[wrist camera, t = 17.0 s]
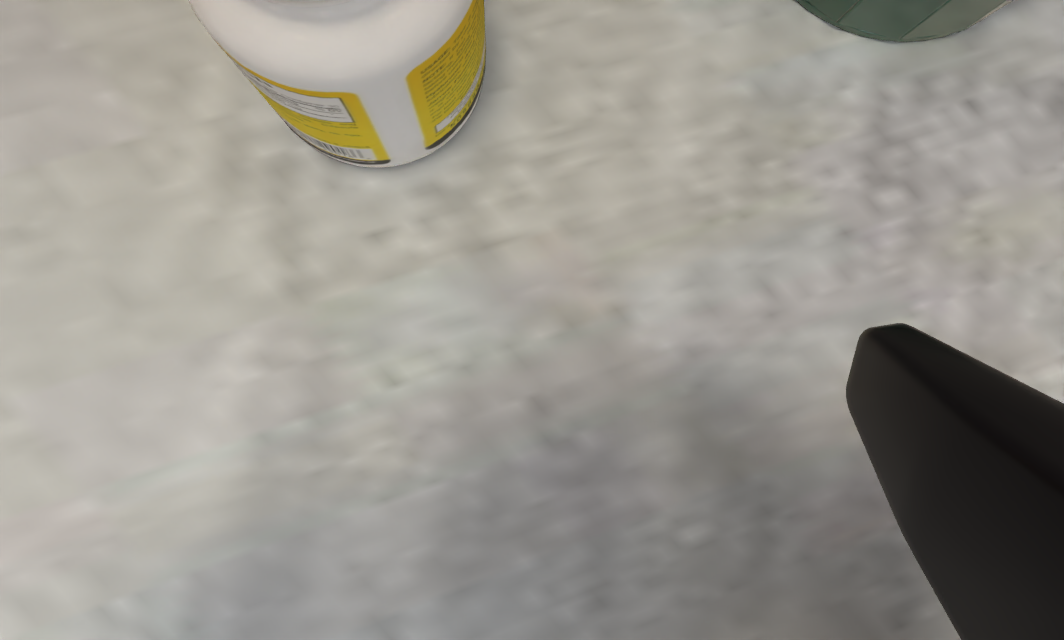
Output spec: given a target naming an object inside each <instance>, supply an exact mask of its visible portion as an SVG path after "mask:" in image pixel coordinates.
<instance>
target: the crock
mask: <svg viewBox="0 0 1064 640" xmlns="http://www.w3.org/2000/svg"><path fill="white" fill-rule="evenodd" d="M796 1H797V2H798V3H800V4H801V5H802V6H803V7H804V8H806V9H807V10H809V11H810V12H812V13H813V14H815V15H816V16H818V17H819V18H821V19H822V20H824V21H826V22H828V23H830V24H832V25H834V26H836V27H838V28H840V29H842V30H845V31H848V32H851V33H854V34H857V35H860V36H863V37H868V38H873V39H878V40H885V41H899V42H908V41H924V40H929V39H934V38H939V37H944V36H947V35H950V34H953V33H956V32H960V31H962V30H965V29H967V28H969V27H970V26H972V25H974V24H976V23H978V22H980V21H982V20H983V19H984V18H986V17H987V16H989V15H990V14H992V13H994V12H995V11H997V10H999V9H1000V8H1002V7H1004V6H1005V5H1007V4H1009V3H1011V2H1012V1H1014V0H796Z"/></svg>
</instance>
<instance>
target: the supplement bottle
mask: <svg viewBox="0 0 1064 640" xmlns="http://www.w3.org/2000/svg"><path fill="white" fill-rule="evenodd" d="M188 1H189V3H190V5H191V7H192V9H193V11H194V12H195V14H196V16H197V17H198V19H199V20H200V22H201V23H202V24H203V26H204V27H205V29H206V30H207V32H208V33H209V34H210V35H211V37H212V38H213V39H214V40H215V41H216V43H217V44H218V45H219V46H220V47H221V49H222V50H223V51H224V52H225V53H226V54H227V55H228V56H229V57H230V58H231V60H232V61H233V62H234V63H235V64H236V66H237V67H238V68H239V69H240V70H241V71H242V73H243V74H244V75H245V76H246V77H247V78H248V80H249V81H250V82H251V83H252V84H253V85H254V87H255V88H256V89H257V90H258V91H259V92H260V94H261V95H262V96H263V97H264V98H265V99H266V101H267V102H268V103H269V104H270V105H271V107H272V108H273V109H274V110H275V111H276V112H277V113H278V115H279V116H280V117H281V118H282V119H283V120H284V122H285V123H286V124H287V125H288V126H289V128H290V129H291V130H292V131H293V132H294V133H296V134H297V135H298V136H299V137H300V138H301V139H303V140H304V141H305V142H306V143H308V144H309V145H311V146H312V147H313V148H315V149H316V150H318V151H319V152H321V153H323V154H325V155H327V156H329V157H331V158H333V159H336V160H338V161H341V162H345V163H348V164H352V165H356V166H362V167H391V166H398V165H402V164H406V163H410V162H413V161H415V160H418V159H420V158H423V157H425V156H427V155H429V154H431V153H432V152H434V151H435V150H437V149H439V148H440V147H442V146H443V145H444V144H445V143H447V142H448V141H449V140H450V139H451V138H452V137H453V136H454V135H455V134H456V133H457V132H458V131H459V130H460V129H461V127H462V126H463V125H464V124H465V122H466V121H467V119H468V118H469V116H470V115H471V113H472V111H473V109H474V107H475V105H476V103H477V100H478V98H479V95H480V92H481V88H482V84H483V79H484V73H485V60H486V41H485V24H484V21H485V19H484V0H188Z"/></svg>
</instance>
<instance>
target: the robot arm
mask: <svg viewBox="0 0 1064 640" xmlns="http://www.w3.org/2000/svg"><path fill="white" fill-rule="evenodd" d="M846 399H847V404H848V408H849V411H850V413H851V416H852V418H853V420H854V423H855V425H856V427H857V430H858V432H859V434H860V437H861V439H862V442H863V444H864V446H865V449H866V451H867V453H868V456H869V458H870V460H871V463H872V465H873V467H874V470H875V472H876V474H877V477H878V479H879V481H880V484H881V486H882V488H883V491H884V493H885V495H886V498H887V500H888V502H889V505H890V507H891V510H892V512H893V514H894V516H895V519H896V521H897V523H898V525H899V527H900V529H901V532H902V534H903V536H904V538H905V540H906V541H907V543H908V545H909V547H910V549H911V551H912V553H913V555H914V556H915V558H916V560H917V562H918V564H919V565H920V567H921V569H922V571H923V572H924V574H925V576H926V578H927V580H928V581H929V583H930V585H931V587H932V588H933V590H934V592H935V594H936V596H937V597H938V599H939V601H940V603H941V604H942V606H943V608H944V610H945V612H946V613H947V615H948V617H949V619H950V620H951V622H952V624H953V626H954V627H955V629H956V631H957V633H958V635H959V636H960V638H961V640H1064V404H1063V403H1061V402H1059V401H1057V400H1055V399H1053V398H1051V397H1049V396H1047V395H1045V394H1043V393H1042V392H1040V391H1038V390H1036V389H1034V388H1032V387H1030V386H1028V385H1026V384H1024V383H1022V382H1020V381H1018V380H1016V379H1014V378H1012V377H1010V376H1008V375H1006V374H1004V373H1002V372H1000V371H998V370H996V369H994V368H992V367H990V366H988V365H986V364H985V363H983V362H981V361H979V360H977V359H975V358H973V357H971V356H969V355H967V354H965V353H963V352H961V351H959V350H957V349H955V348H953V347H951V346H949V345H947V344H945V343H943V342H941V341H939V340H937V339H935V338H933V337H931V336H929V335H928V334H926V333H924V332H922V331H920V330H918V329H916V328H914V327H912V326H909V325H907V324H903V323H896V324H890V325H883V326H877V327H871V328H868V329H866V330H865V331H864V332H863V333H862V334H861V335H860V337H859V340H858V343H857V347H856V351H855V355H854V358H853V362H852V366H851V370H850V374H849V378H848V381H847V386H846Z"/></svg>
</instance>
